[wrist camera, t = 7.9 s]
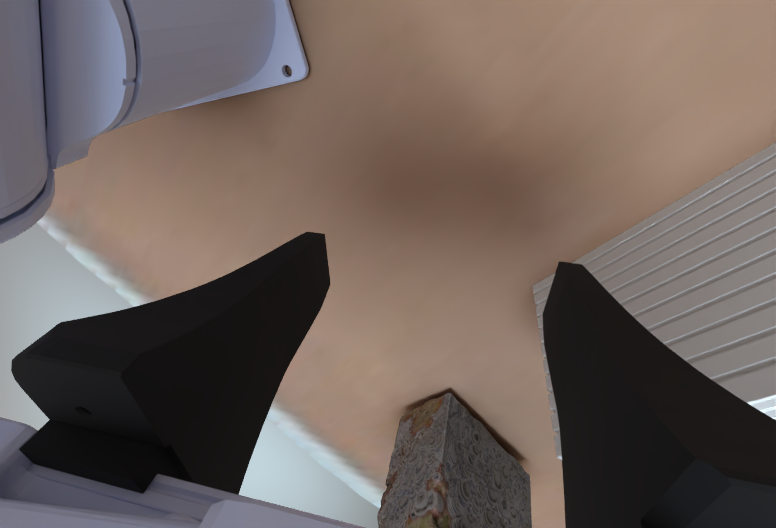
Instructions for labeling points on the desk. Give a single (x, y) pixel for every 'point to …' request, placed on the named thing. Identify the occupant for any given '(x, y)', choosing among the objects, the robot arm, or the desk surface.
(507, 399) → the desk surface
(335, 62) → the desk surface
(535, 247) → the desk surface
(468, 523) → the geological specimen
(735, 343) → the grey ribbed box
